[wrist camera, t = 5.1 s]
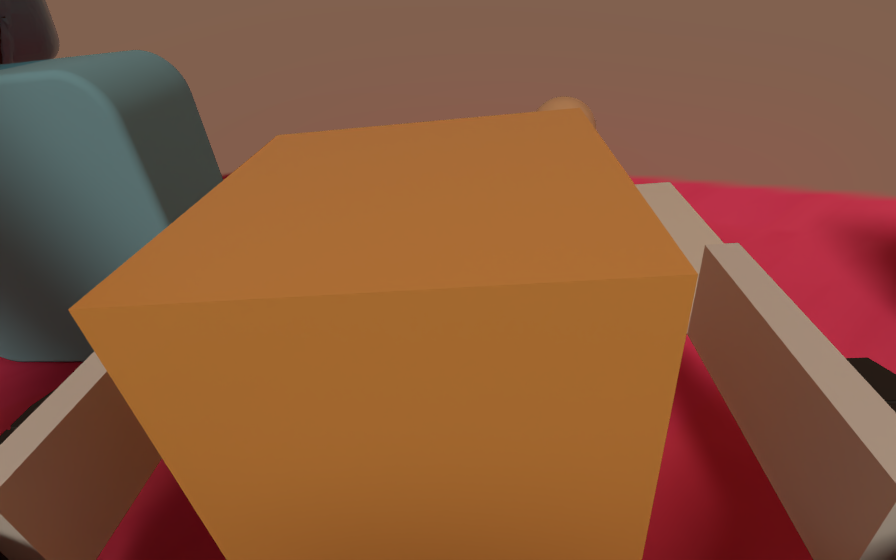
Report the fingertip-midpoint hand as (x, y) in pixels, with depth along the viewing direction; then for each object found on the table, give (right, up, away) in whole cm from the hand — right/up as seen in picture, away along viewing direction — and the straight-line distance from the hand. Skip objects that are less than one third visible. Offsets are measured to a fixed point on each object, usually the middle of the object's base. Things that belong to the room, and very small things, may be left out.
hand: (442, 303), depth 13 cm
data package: (-15, -2, +11) cm, 19 cm away
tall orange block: (0, -6, +2) cm, 6 cm away
